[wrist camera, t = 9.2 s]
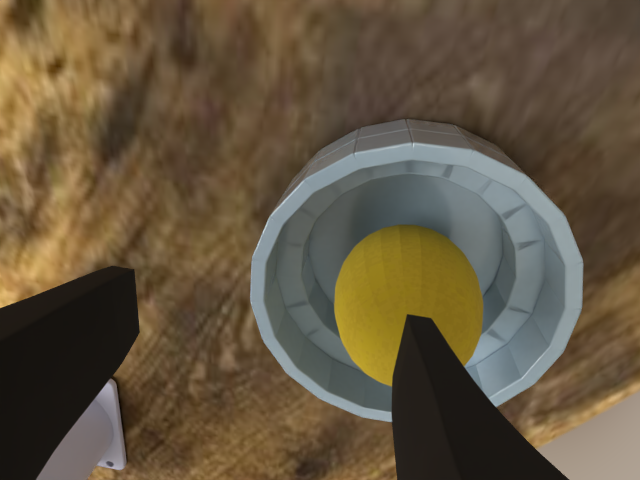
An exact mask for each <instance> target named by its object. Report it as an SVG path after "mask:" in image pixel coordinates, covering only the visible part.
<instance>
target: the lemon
mask: <svg viewBox="0 0 640 480" xmlns="http://www.w3.org/2000/svg"><path fill="white" fill-rule="evenodd" d="M334 312H335V318H336V322H337V326H338V330H339V334H340V338H341V341H342V343H343V345H344V347H345V348H346V350H347V352H348V354H349V355H350V357H351V359H352V361H353V362H354V363H355V364H356V365H357V366H358V367H359V368H360V369H361V370H362V371H363V372H364V373H365V374H367V375H368V376H370V377H372V378H373V379H375V380H376V381H378V382H380V383H383V384H386V385H388V386H391V387H392V376H393V372H394V367H395V363H396V359H397V354H398V350H399V346H400V342H401V337H402V333H403V329H404V325H405V320H406V316H407V314H410V315H416V316H422V317H428V318H432V320H433V321H434V323H435V324H436V326H437V327H438V329H439V330H440V332H441V333H442V335H443V336H444V338H445V339H446V341H447V343H448V344H449V346H450V347H451V349H452V350H453V352H454V353H455V354H456V356H457V357H458V359H459V360H460V362H461V363H462V365H463V366H465V365H466V364H467V362H468V361H469V360H470V358H471V357H472V356H473V354H474V352H475V349H476V347H477V344H478V342H479V339H480V336H481V332H482V322H483V298H482V293H481V290H480V286H479V282H478V278H477V275H476V273H475V271H474V269H473V267H472V266H471V264H470V262H469V261H468V259H467V257H466V256H465V254H464V253H463V252H462V251H461V249H459V248H458V247H457V246H456V245H455V244H454V243H453V242H452V241H451V240H450V239H449V238H447V237H446V236H444V235H442V234H440V233H438V232H436V231H434V230H433V229H430V228H426V227H422V226H418V225H406V224H398V225H394V226H389V227H384V228H382V229H380V230H378V231H376V232H374V233H371V234H369V235H368V236H366V237H365V238H364V239H363V240H362V241H360V242H359V243H358V244H357V245H356V246H355V247H354V248H353V250H352V251H351V252H350V254H349V255H348V257H347V258H346V260H345V261H344V263H343V265H342V268H341V271H340V273H339V276H338V279H337V282H336V286H335V302H334Z"/></svg>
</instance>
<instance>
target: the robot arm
mask: <svg viewBox="0 0 640 480" xmlns="http://www.w3.org/2000/svg"><path fill="white" fill-rule="evenodd" d="M139 333H140V331H139V319H138V307H137V295H136V284H135V272H134V269H128V268H122V267H116V266H111V267H107V268H104V269H101V270H98V271H95V272H93V273H90V274H87V275H85V276H82V277H80V278H77V279H75V280H72V281H70V282H67V283H65V284H62V285H60V286H57V287H55V288H52V289H50V290H47V291H45V292H42V293H40V294H37V295H35V296H32V297H30V298H27V299H24V300H22V301H19V302H16V303H13V304H11V305H8V306H5V307H2V308H0V480H87V479H88V477H89V476H90V474H91V473H92V471H93V470H94V468H95V467H96V466H101V467H106V468H112V469H117V470H121V469H123V468H124V467H125V465H126V463H127V460H126V453H125V445H124V438H123V430H122V423H121V415H120V408H119V400H118V392H117V385H116V383H115V381H114V380H112V379H111V377H112V376H113V374H114V373H115V372H116V371H117V369H118V368H119V367H120V365H121V364H122V362H123V360H124V359H125V357H126V355H127V354H128V352H129V351H130V349H131V347H132V345H133V343H134V342H135V340H136V338H137V336H138V334H139ZM391 414H392V426H393V438H394V449H395V460H396V471H397V480H569V479H568V478H567V477H566V476H564V475H563V474H562V473H561V472H560V471H559V470H558V469H557V468H555V466H553V465H552V464H551V463H550V462H549V461H548V460H547V459H546V458H545V457H543V456H542V455H541V454H540V453H539V452H538V451H537V450H536V449H535V448H534V447H533V446H532V445H531V444H530V443H529V442H528V441H527V440H526V439H525V438H524V437H523V436H522V435H521V434H520V433H519V432H518V431H517V430H516V429H515V428H514V427H513V425H512V424H511V423H510V422H509V421H508V420H507V419H506V418H505V417H504V416H503V415H502V414H501V413H500V411H499V410H498V409H497V408H496V407H495V406H494V404H493V403H492V402H491V401H490V400H489V398H488V397H487V396H486V395H485V394H484V392H483V391H482V390H481V389H480V387H479V386H478V385H477V384H476V382H475V381H474V380H473V378H472V377H471V376H470V374H469V373H468V371H467V370H466V369H465V367H464V366H463V365H462V363H461V362H460V360H459V359H458V357H457V356H456V354H455V353H454V352H453V350H452V349H451V347H450V346H449V344H448V343H447V341H446V339H445V338H444V336H443V335H442V333H441V332H440V330H439V329H438V327H437V326H436V324H435V323H434V321H433V320H432V318H428V317H422V316H416V315H410V314H407V316H406V320H405V325H404V329H403V333H402V337H401V342H400V346H399V350H398V354H397V359H396V363H395V367H394V372H393V376H392V406H391Z"/></svg>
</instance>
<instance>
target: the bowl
mask: <svg viewBox="0 0 640 480" xmlns="http://www.w3.org/2000/svg"><path fill="white" fill-rule="evenodd" d="M398 224H406V225H418V226H422V227H426V228H430V229H433V230H434V231H436V232H438V233H440V234H442V235H444V236H446V237H447V238H449V239H450V240H451V241H452V242H453V243H454V244H455V245H456V246H457V247H458V248H459V249H461V251H462V252H463V253H464V254H465V256H466V257H467V259H468V261H469V262H470V264H471V266H472V267H473V269H474V271H475V273H476V275H477V278H478V282H479V286H480V290H481V293H482V298H483V322H482V332H481V336H480V339H479V342H478V344H477V347H476V349H475V352H474V354H473V356H472V357H471V358H470V360H469V361H468V362H467V364H466V365H465V366H464V367H465V369H466V370H467V371H468V373H469V374H470V376H471V377H472V378H473V380H474V381H475V382H476V384H477V385H478V386H479V387H480V389H481V390H482V391H483V392H484V394H485V395H486V396H487V397H488V398H489V400H490V401H491V402H492V403H493V404H494V406H495V407H497V406H499V405H501V404H502V403H504V402H506V401H507V400H509V399H511V398H512V397H514V396H516V395H517V394H519V393H521V392H522V391H524V390H526V389H527V388H529V387H531V386H532V385H534V384H535V383H536V382H537V381H538V379H539V378H540V377H541V376H542V375H543V374H544V373H545V372H546V371H547V370H548V369H549V367H550V366H551V365H552V364H553V363H554V362H555V361H556V360H557V359H558V358H559V357H560V355H561V354H562V353H563V352H564V350H565V348H566V345H567V343H568V341H569V338H570V336H571V334H572V332H573V329H574V327H575V325H576V322H577V320H578V318H579V315H580V313H581V308H582V298H583V259H582V256H581V254H580V251H579V249H578V246H577V243H576V241H575V238H574V236H573V233H572V231H571V228H570V226H569V223H568V221H567V218H566V216H565V215H564V213H563V212H562V211H561V210H560V209H559V208H558V207H557V206H556V205H555V204H554V203H553V202H552V201H551V199H550V198H549V197H548V196H547V195H546V194H545V193H544V192H543V191H542V190H541V189H540V188H539V187H538V186H537V185H536V184H535V183H534V182H533V181H532V180H531V179H530V178H529V177H528V176H527V175H526V174H525V173H524V172H523V171H522V170H521V169H520V168H519V167H518V166H517V165H516V164H515V163H514V162H513V161H512V160H511V159H510V158H509V157H508V156H507V155H506V154H505V153H504V152H503V151H502V150H501V149H500V148H499V147H497V146H496V145H495V144H493V143H491V142H489V141H487V140H485V139H483V138H481V137H479V136H477V135H475V134H472V133H470V132H468V131H466V130H464V129H462V128H460V127H458V126H456V125H452V124H444V123H436V122H429V121H421V120H413V119H407V120H406V119H402V120H397V121H392V122H387V123H381V124H376V125H371V126H366V127H361V128H360V129H356V130H355V131H353V132H351V133H349V134H347V135H346V136H344V137H342V138H340V139H338V140H337V141H335V142H333V143H331V144H329V145H327V146H326V147H324V148H322V149H321V150H319V151H318V152H317V153H316V154H315V156H314V157H313V158H312V159H311V160H310V161H309V162H308V163H307V164H306V165H305V166H304V167H303V169H302V170H301V171H300V172H299V173H298V174H297V175H296V176H295V177H294V178H293V179H292V181H291V183H290V184H289V186H288V187H287V189H286V191H285V192H284V194H283V196H282V197H281V199H280V200H279V202H278V203H277V205H276V207H275V208H274V210H273V212H272V213H271V215H270V216H269V218H268V221H267V223H266V225H265V228H264V230H263V232H262V235H261V237H260V240H259V242H258V244H257V247H256V249H255V251H254V254H253V256H252V263H251V290H250V300H251V305H252V308H253V311H254V315H255V318H256V321H257V324H258V327H259V330H260V333H261V336H262V339H263V342H264V343H265V344H266V346H267V347H268V349H269V350H270V351H271V353H272V354H273V355H274V357H275V358H276V359H277V361H278V362H279V364H280V365H281V366H282V368H283V369H284V370H285V372H286V373H288V375H289V376H291V377H292V378H293V379H294V380H296V381H297V382H298V383H300V384H301V385H302V386H303V387H305V388H306V389H307V390H309V391H310V392H311V393H313V394H314V395H315V396H316V397H318V398H319V399H321V400H323V401H325V402H327V403H330V404H332V405H334V406H337V407H339V408H341V409H343V410H346V411H348V412H350V413H353V414H355V415H357V416H360V417H364V418H369V419H375V420H381V421H386V422H392V414H391V406H392V387H391V386H388V385H386V384H383V383H380V382H378V381H376V380H375V379H373V378H372V377H370V376H368V375H367V374H365V373H364V372H363V371H362V370H361V369H360V368H359V367H358V366H357V365H356V364H355V363H354V362H353V361H352V359H351V357H350V355H349V354H348V352H347V350H346V348H345V347H344V345H343V343H342V341H341V338H340V334H339V330H338V326H337V322H336V318H335V312H334V302H335V286H336V282H337V279H338V276H339V273H340V271H341V268H342V265H343V263H344V261H345V260H346V258H347V257H348V255H349V254H350V252H351V251H352V250H353V248H354V247H355V246H356V245H357V244H358V243H359V242H360V241H362V240H363V239H364V238H365V237H366V236H368V235H369V234H371V233H374V232H376V231H378V230H380V229H382V228H384V227H389V226H394V225H398Z"/></svg>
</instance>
